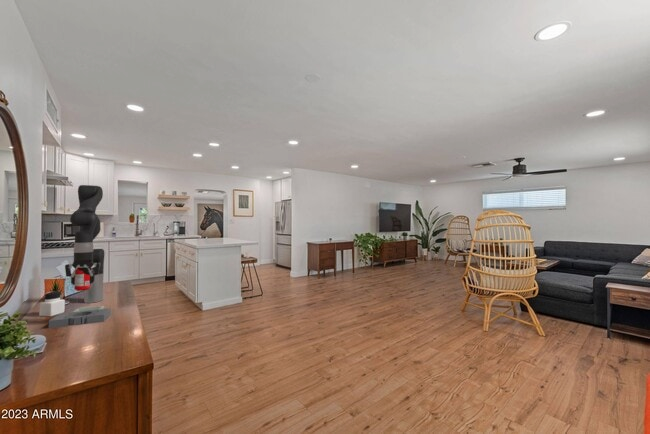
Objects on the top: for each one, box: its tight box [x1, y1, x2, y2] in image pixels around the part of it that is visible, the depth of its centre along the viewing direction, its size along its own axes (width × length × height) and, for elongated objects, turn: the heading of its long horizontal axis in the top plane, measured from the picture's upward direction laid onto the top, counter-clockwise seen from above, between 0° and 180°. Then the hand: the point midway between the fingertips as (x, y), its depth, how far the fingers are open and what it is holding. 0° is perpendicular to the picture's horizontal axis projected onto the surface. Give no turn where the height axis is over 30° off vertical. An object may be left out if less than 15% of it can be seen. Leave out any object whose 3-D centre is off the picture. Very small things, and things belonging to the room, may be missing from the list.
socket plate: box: [48, 307, 112, 329], centre depth 139 cm, size 21×12×4 cm, turn 115°
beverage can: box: [73, 267, 92, 292], centre depth 140 cm, size 6×6×12 cm
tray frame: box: [72, 305, 105, 312], centre depth 150 cm, size 12×12×2 cm
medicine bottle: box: [39, 290, 66, 317], centre depth 149 cm, size 7×7×12 cm
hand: (82, 283), depth 140 cm, fingers closed on beverage can, 6 cm apart
